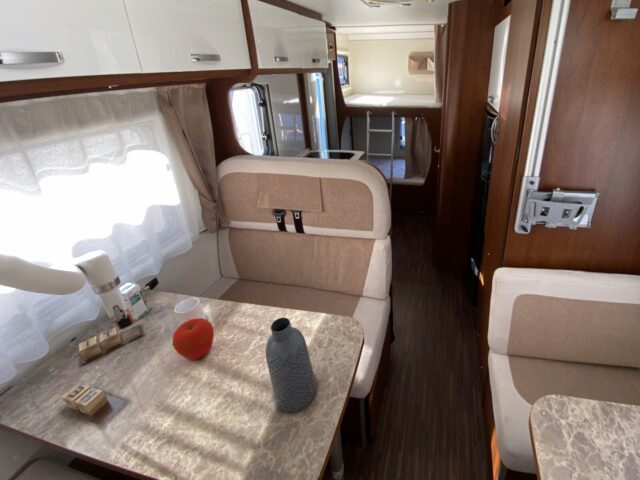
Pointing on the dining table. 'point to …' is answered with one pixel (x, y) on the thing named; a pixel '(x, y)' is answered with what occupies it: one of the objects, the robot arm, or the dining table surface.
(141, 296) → the syrup box
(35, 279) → the robot arm
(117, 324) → the block
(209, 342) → the apple
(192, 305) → the mug
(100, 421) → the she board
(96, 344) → the board
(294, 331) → the vase
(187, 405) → the dining table surface
